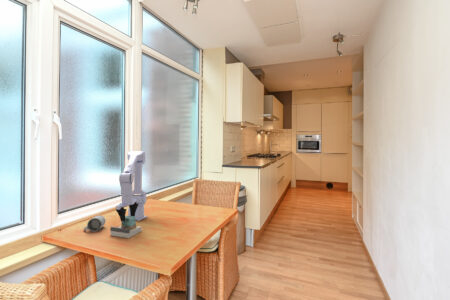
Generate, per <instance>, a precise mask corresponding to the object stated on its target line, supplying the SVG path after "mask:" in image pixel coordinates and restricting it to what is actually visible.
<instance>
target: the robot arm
mask: <svg viewBox="0 0 450 300" xmlns="http://www.w3.org/2000/svg"><path fill="white" fill-rule="evenodd" d="M127 160H128V164H126V165H125V167H124V169H123V172H121V173H120V174H119V177H118V178H119V179H118V180H119V187H120V188H121V189H120V190H121V193H120V194H121V203H119V204H117V205H115V212H116V213H117V215H118V217H119V219H120V222H122V221H125V216H126V213H128V215H127V216H135V221H137V222H139V221H142V220H143V219H146V218H148V215H145V204H147V192H146V191H145V190H143V189H142V187H143V186H142V185H143V184H142V183H143V180H142V179H143V178H142V177H143V165H145V163H146V153H145V151H144V150H140V151H139V150H137V151H135V150H134V151H132V150H129V151H128V152H127ZM127 207H128V209H127Z"/></svg>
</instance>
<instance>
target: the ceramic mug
mask: <svg viewBox="0 0 450 300" xmlns="http://www.w3.org/2000/svg"><path fill="white" fill-rule="evenodd" d="M105 224H106V218H105V217H104V216H103V215H99V214H98V215H95V216H94V217H92V218H90V219H89V220H88V222H87V224H86V226H84V227H83V230H84V231H88V230H89V231H90V232H93V233H95V232H98V231H100V230H101V229H102V228H103V226H105Z"/></svg>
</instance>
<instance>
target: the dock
mask: <svg viewBox="0 0 450 300" xmlns="http://www.w3.org/2000/svg"><path fill="white" fill-rule="evenodd" d="M109 229H110V236H113V237H118V238H125V239H129V238H131V237H134V236H136V235H137V234H139V233H140V232H142V226H140V225H136V228H134V229H132V230H130V229H126V228H121V225H120V226H118V227H117V226H110V228H109Z"/></svg>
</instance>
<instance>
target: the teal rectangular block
mask: <svg viewBox="0 0 450 300" xmlns="http://www.w3.org/2000/svg"><path fill="white" fill-rule="evenodd" d="M136 221H137V220H135V216H128V215H125V221H121V225H120V226H121V228H126V229H130V230H132V229H134V228H136V226H137V224H136Z"/></svg>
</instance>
